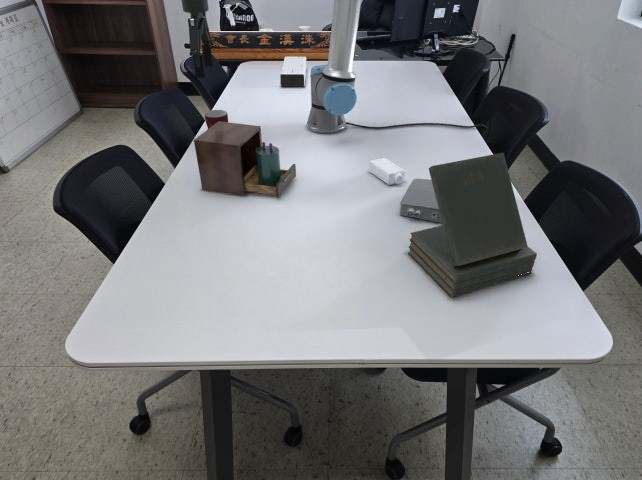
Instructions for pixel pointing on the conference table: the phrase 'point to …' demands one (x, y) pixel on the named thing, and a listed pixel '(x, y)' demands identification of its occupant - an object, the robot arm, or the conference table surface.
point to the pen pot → (268, 165)
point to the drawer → (281, 185)
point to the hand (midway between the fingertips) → (205, 71)
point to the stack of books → (473, 228)
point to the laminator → (293, 72)
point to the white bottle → (387, 171)
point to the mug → (215, 117)
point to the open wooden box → (227, 156)
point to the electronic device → (420, 201)
